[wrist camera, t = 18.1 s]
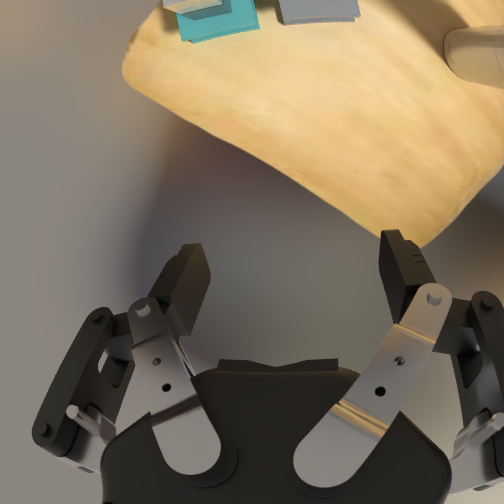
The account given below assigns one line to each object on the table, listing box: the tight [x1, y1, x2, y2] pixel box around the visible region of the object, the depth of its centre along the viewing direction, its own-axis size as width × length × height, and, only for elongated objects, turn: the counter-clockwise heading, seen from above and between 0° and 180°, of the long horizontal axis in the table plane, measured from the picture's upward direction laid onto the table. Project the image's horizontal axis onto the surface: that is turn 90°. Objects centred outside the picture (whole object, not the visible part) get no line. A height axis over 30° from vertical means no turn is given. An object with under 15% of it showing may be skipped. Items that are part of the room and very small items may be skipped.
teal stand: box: [176, 0, 260, 44], centre depth 27 cm, size 10×10×5 cm
